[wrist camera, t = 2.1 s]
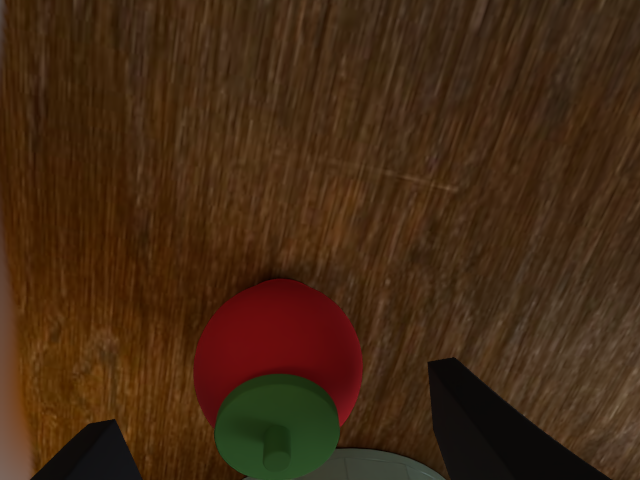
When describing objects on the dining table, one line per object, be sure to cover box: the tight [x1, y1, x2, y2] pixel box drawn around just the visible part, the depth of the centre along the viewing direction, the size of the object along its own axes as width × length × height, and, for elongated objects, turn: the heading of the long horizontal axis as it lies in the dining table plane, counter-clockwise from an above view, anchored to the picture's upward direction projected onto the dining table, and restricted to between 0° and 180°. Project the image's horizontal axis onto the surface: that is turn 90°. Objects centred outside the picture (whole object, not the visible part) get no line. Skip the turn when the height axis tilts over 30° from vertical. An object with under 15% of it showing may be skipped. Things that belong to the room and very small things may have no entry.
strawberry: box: [194, 279, 363, 480], centre depth 11 cm, size 5×5×6 cm
